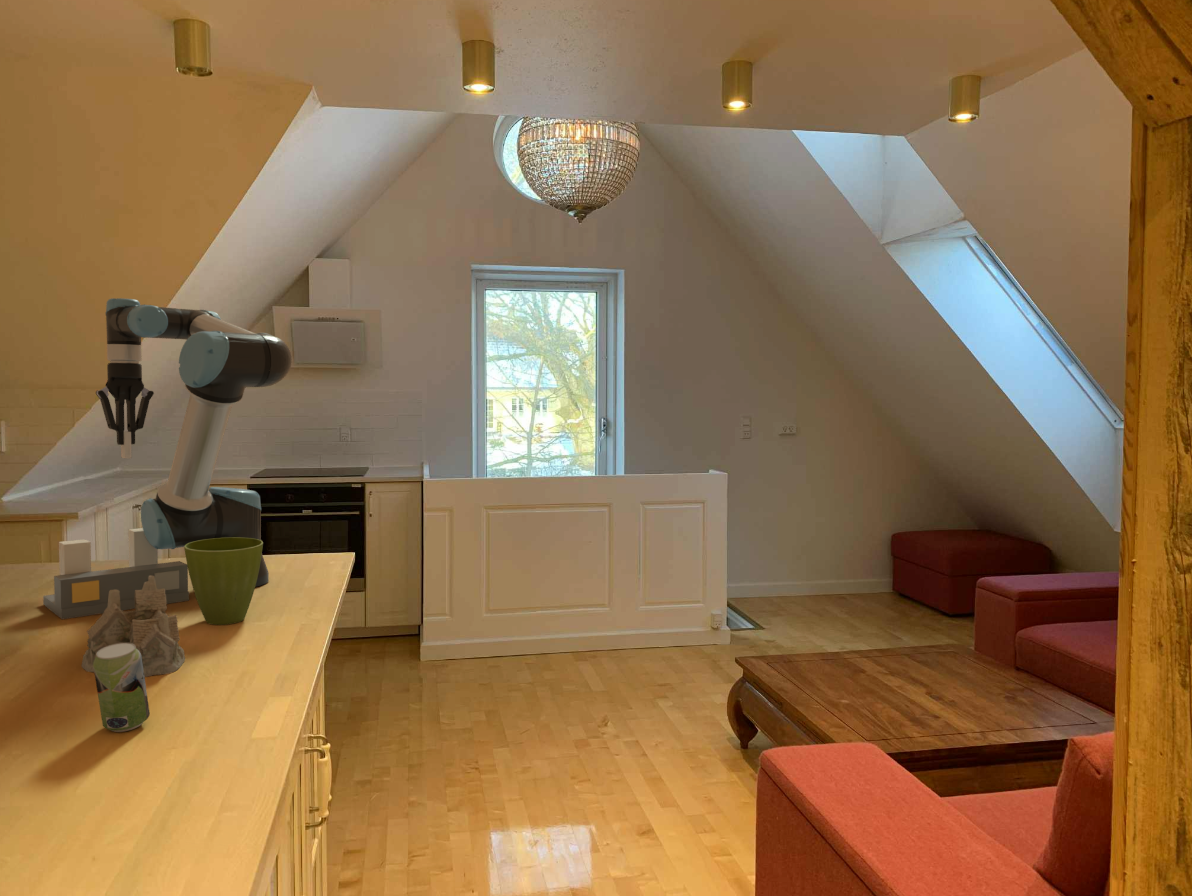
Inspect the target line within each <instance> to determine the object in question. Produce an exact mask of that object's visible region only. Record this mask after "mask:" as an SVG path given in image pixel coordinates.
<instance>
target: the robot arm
mask: <svg viewBox="0 0 1192 896" xmlns="http://www.w3.org/2000/svg"><path fill="white" fill-rule="evenodd" d="M105 307H106V308H105V319H106V320H105V322H106V323H105V325H106V359H107V361H109V362H108V363H106V364H107V365H106V366H107V370H106V371H107V379H106V380H107V381H106V383H105V386H104V387H103V388H101V389H99V390H98V389H97V390H96V391H95V394H96V396H97V397H98V399H99V400H100V404H101V408H102V411H103V413H104V418H105V421H106V425H107V428H108V429H109V430H113V431H115V432H116V444H117V445H120V451H121V453H120V455H121V458H122V459H132V445H135V444H136V431H138V430H141V429H143V428H144V425H145V421H146V418H147V417H146V416H147V413H148V408H149V404H150V400H151V399H152V397H153V396H154V394H155V393H154V391H153V390H149V389H148V388H146V387H145V384H144V382H143V373H142V371H143V368H142V363H140V362H142V360H143V359H142V356H143V355H142V338H144V339H145V338H148V339H170V340H185V341H184V344H183V345H182V348H181V350H180V353H179V358H178V364H179V367H178V372H179V375H180V378H181V381H182V382H183V383H184V384H185V385H184V387H185V389H186V390H187V392H188V393H189V399H188V403H187V406H186V410H185V414H184V418H183V421H182V426H181V429H180V432H179V437H178V441H177V445H176V449H175V451H174V456H173V460H172V464H171V468H170V472H169V475H168V480H167V481H166V482H164V483H162V484H160V486H158V488H157V492H156V495H155V498H148V499H145V500H144V501H143V502H142V503H141V504H142V505H141V507H140V522H141V526H142V527H141V528H143V531H144V534H145V536H146V538H147V540H148V542H149V543H150V544H151V545H152V546H153V547H154V548H156V549H158V550H175V549H179V548H184V546H185V545H186V544H188V543H190V542H194V541H198V540H204V539H213V538H228V537H241V538H254V539H259V540H261V541H262V539H261V537H262V535H261V534H262V533H261V530H262V529H261V527H262V524H261V523H262V522H261V521H262V519H261V518H262V517H261V516H262V515H261V514H262V513H261V512H262V506H261V505H262V504H261V495H260V494H259V493H258V492H257V491H256V490H252V489H251V490H250V489H245V488H237V487H235V488H234V487H222V486H220V487H219V486H214V487H213V486H211V487H210V485H211V482H212V479H213V478H212V477H213V475H214V471H215V467H216V464H217V459H218V457H219V453H220V449H221V446H222V443H223V439H224V434H225V432H226V428H227V425H228V422H229V421H228V420H229V417H230V414H231V411H232V408H233V405H235V404H237V403H239V402H241V401H242V399H243V397H244V393H245V389H246V388H266V387H270V386H273V385H276V384H278V383H279V382H281V381H282V380H283V379H285V377H286V376H287V375H288V374H289V372H290V370H291V367H292V363H293V358H292V357H293V356H292V352H291V350H290V347H289V346H288V345H287V344H286V342H285V341H284V340H283V339H281V338H279V337H277V336H274V335H272V334H270V333H267V332H257V333H256V332H253V331H250V330H248V329H245V328H243V327H240V326H238V325H235V324H232V323H230V322H228V321H226V320H225V321H224V320H223V319H222V318H221V317H220V316H219V315H220V314H218V313H217V312H215V311H210V310H207V309H188V308H187V309H186V308H174V307H165V306H157V305H151V304H141V302H140V301H139V300H138V299H133V298H122V297H121V298H109V299H108V300H107V301H106V305H105ZM109 395H111V396H112V397H113V398H114V403H115V404H114V405H115V416H114V412H113V410H112V406H111V402H110V399H109ZM139 395H141V398H140V403H139V406H138V411H137V415H136V403H137V397H139ZM125 403H126V404H125ZM125 405H126V428H127V430H126V431H125ZM269 579H270V578H269V570H268V567H267V564H266V561H265V558H264V556H263V554H262V555H261V562H260V568H259V573H258V577H257V581H256V585H255V588H256V587H260V586H263V585H266V584H267V583H269V581H270V580H269Z"/></svg>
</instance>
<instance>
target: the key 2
mask: <svg viewBox="0 0 1192 896" xmlns="http://www.w3.org/2000/svg"><path fill="white" fill-rule="evenodd" d="M158 550H159V549H156V548H154V547H153V546H152V545H151V544H150V543H149V542H148V540H147V538H146V536H145V534H144V531H143V527H140V528H139V527H138V528H130V529H129V528H128V567H134V566H142V565H151V564H159V562H158V561H159V559H158V558H159V556H158V553H159V551H158Z"/></svg>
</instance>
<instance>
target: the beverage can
mask: <svg viewBox="0 0 1192 896" xmlns="http://www.w3.org/2000/svg"><path fill="white" fill-rule="evenodd" d="M96 656H97V657H96V658H95V660H94V663H93V667H94V672H93V674H94V678H95V679H94V680H95V685H96V691H97V698H98V703H99V705H98V706H99V710H100V716H101V717H100V718H101V724H102V727H103V728H104V729H107V730H109V731H111V732H114V733H122V732H123V733H124V732H128V731H132V730H134V729H136V728H138V727H140V726H141V725H142V724H144V722H146V721H147V720H148V719H149V717H150V715H151V714H150V713H151V712H150V706H149V700H148V692H147V685H146V679H145V678H146V677H144V671H143V664H142V657H141V653H140V652H139V650H137V649H136V647H135V645H134V644H132V643H117V644H112V645H109V646H106V647H104V648H102V649H100V650H99V651H98V652H97V654H96Z"/></svg>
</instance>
